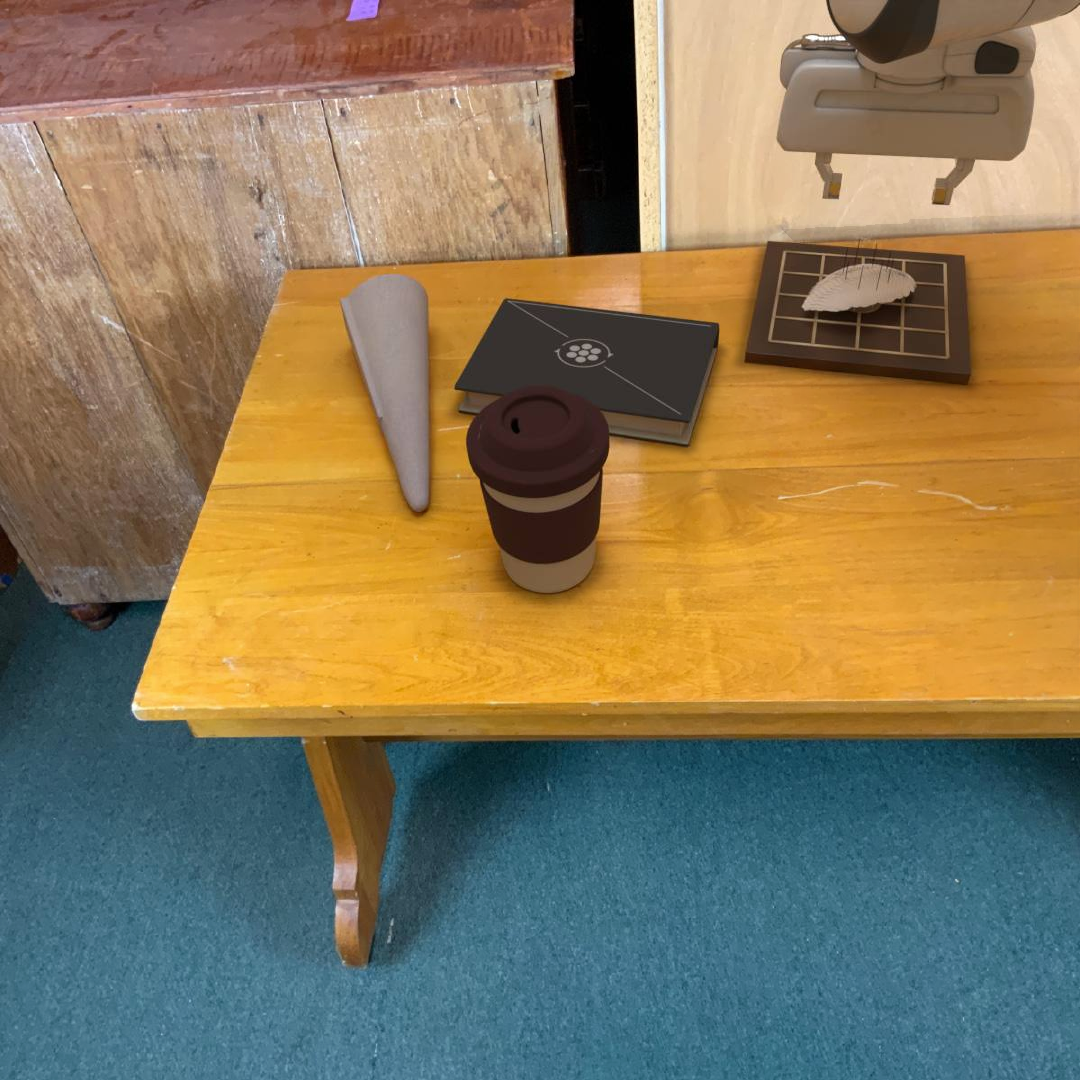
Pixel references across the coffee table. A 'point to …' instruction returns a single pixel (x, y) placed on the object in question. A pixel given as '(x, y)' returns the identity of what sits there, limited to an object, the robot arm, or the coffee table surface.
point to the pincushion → (859, 287)
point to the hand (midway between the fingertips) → (884, 199)
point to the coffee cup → (541, 482)
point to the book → (598, 364)
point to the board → (863, 316)
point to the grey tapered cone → (396, 371)
